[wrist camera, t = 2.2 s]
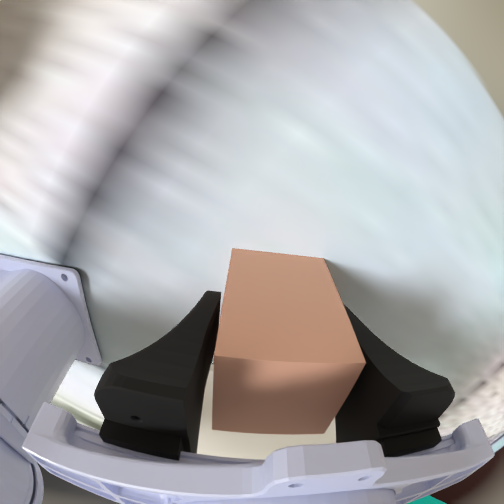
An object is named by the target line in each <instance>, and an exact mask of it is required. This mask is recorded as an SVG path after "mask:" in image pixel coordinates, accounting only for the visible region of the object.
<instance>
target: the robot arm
mask: <svg viewBox="0 0 504 504" xmlns="http://www.w3.org/2000/svg"><path fill="white" fill-rule="evenodd" d="M65 275H66V276H67V277H66V276H65ZM220 299H221V292H215V291H207V292H205V294H204V295H203V297H202V298H201V299H200V301H199V302H198V303H197V304H196V306H195V307H194V308H193V309H192V310H191V311H190V313H189V314H188V315H187V316H186V317H185V318H184V319H183V320H182V321H181V322H180V323H179V324H178V325H177V326H176V327H174V328H173V329H172V330H171V331H170V332H169V333H167V334H166V335H165V336H163V337H162V338H161V339H159V340H158V341H156V342H155V343H153V344H152V345H150V346H149V347H147V348H145V349H143V350H141V351H139V352H137V353H135V354H133V355H131V356H129V357H126V358H124V359H121V360H118V361H116V362H113V363H110V365H109V366H108V368H107V369H106V370H105V372H104V374H103V375H102V377H101V379H100V381H99V383H98V385H97V387H96V390H95V393H94V396H95V400H96V402H97V404H98V406H99V408H100V410H101V412H102V414H103V416H104V418H105V419H104V422H103V424H102V427H101V430H100V431H99V430H96V429H93V428H90V427H87V426H84V425H81V424H79V423H77V422H76V419H75V418H74V416H73V415H72V414H71V413H69V412H68V411H66V410H64V409H62V408H59V407H57V406H55V405H52V404H50V403H51V401H52V399H53V397H54V396H55V394H56V392H57V390H58V388H59V386H60V385H61V383H62V381H63V379H64V377H65V376H66V374H67V372H68V370H69V369H70V367H71V365H72V364H73V362H74V360H79V361H82V362H85V363H89V364H92V365H96V366H99V365H100V364H101V362H102V359H101V356H100V352H99V349H98V346H97V343H96V339H95V336H94V333H93V329H92V325H91V322H90V318H89V314H88V310H87V306H86V302H85V298H84V293H83V289H82V284H81V279H80V275H79V273H78V272H77V271H76V270H75V269H72V268H67V267H61V266H56V265H50V264H45V263H40V262H35V261H30V260H25V259H20V258H15V257H10V256H5V255H1V254H0V504H42V499H43V479H42V474H41V471H40V468H39V466H38V464H37V462H38V463H39V464H40V465H41V466H42V467H43V468H45V469H46V470H47V471H48V472H49V473H51V474H53V475H55V476H57V477H60V478H61V479H63V480H66V481H68V482H70V483H72V484H74V485H76V486H79V487H81V488H83V489H86V490H88V491H90V492H92V493H95V494H97V495H100V496H102V497H105V498H107V499H110V500H112V501H115V502H118V503H121V504H407V503H410V502H412V501H415V500H417V499H420V498H423V497H425V496H427V495H430V494H432V493H435V492H437V491H439V490H442V489H444V488H446V487H448V486H451V485H453V484H455V483H457V482H459V481H461V480H463V479H465V478H466V477H468V476H469V475H471V474H472V473H473V472H475V471H476V470H477V469H479V468H480V467H481V466H483V465H484V464H485V463H486V462H488V461H489V460H490V459H491V458H493V457H494V452H493V450H492V447H491V445H490V443H489V440H488V438H487V436H486V434H485V432H484V429H483V427H482V425H481V423H480V421H479V419H474V420H472V421H469V422H466V423H463V424H462V425H460V426H459V427H458V428H456V429H455V430H454V432H453V433H452V434H450V435H447V436H443V437H441V436H440V434H439V431H438V429H437V427H439V426H440V422H439V420H438V418H439V417H440V416H441V415H442V413H443V412H444V411H445V410H446V409H447V408H448V407H449V405H450V404H451V403H452V401H453V399H454V396H455V392H454V390H453V388H452V386H451V384H450V382H449V380H448V379H447V378H445V377H443V376H440V375H437V374H435V373H432V372H430V371H428V370H426V369H424V368H422V367H419V366H418V365H416V364H414V363H412V362H410V361H409V360H407V359H406V358H404V357H402V356H401V355H399V354H398V353H396V352H395V351H394V350H392V349H391V348H390V347H388V346H387V345H386V344H385V343H383V342H382V341H381V340H380V339H379V338H378V337H377V336H375V335H374V334H373V333H372V332H371V331H370V330H369V329H368V328H367V327H366V326H365V325H364V324H363V323H362V322H361V321H360V320H359V319H358V318H357V317H356V316H355V315H354V314H353V313H352V312H351V311H350V310H349V309H348V308H347V307H346V306H345V305H344V304H343V305H344V308H345V310H346V312H347V315H348V317H349V320H350V322H351V325H352V327H353V330H354V333H355V335H356V338H357V340H358V343H359V346H360V348H361V351H362V353H363V356H364V359H365V362H366V364H365V366H364V368H363V370H362V371H361V373H360V375H359V377H358V379H357V381H356V382H355V384H354V386H353V388H352V389H351V391H350V393H349V395H348V396H347V398H346V400H345V401H344V403H343V405H342V406H341V408H340V410H339V411H338V413H337V414H336V416H335V426H336V443H331V444H313V445H296V446H287V447H284V448H281V449H278V450H275V451H274V452H272V453H271V454H270V455H269V456H267V457H266V459H265V460H262V459H242V458H230V457H219V456H211V455H203V454H197V448H198V439H199V430H200V422H201V414H202V406H203V399H204V392H205V387H206V382H207V378H208V374H209V370H210V366H211V363H212V359H213V355H214V351H215V347H216V341H217V335H218V328H219V314H220ZM36 461H37V462H36Z"/></svg>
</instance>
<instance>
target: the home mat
mask: <svg viewBox="0 0 504 504" xmlns="http://www.w3.org/2000/svg"><path fill="white" fill-rule="evenodd" d="M213 371H214V364H211V366H210V370H209V374H208V378H207V382H206V387H205V392H204V399H203V406H202V414H201V422H200V430H199V439H198V448H197V454H203V455H211V456H219V457H230V458H242V459H262V460H265V459H266V457H267V456H269V455H270V454H271V453H272V452H274V451H275V450H278V449H281V448H284V447H287V446H296V445H313V444H331V443H336V426H335V418H334V419H333V421H332V422H331V424H330V425H329V427H328V428H327V430H326V431H325V433H324V434H300V435H284V434H255V433H240V432H228V431H219V430H212V401H213Z"/></svg>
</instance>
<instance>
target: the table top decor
mask: <svg viewBox="0 0 504 504" xmlns="http://www.w3.org/2000/svg"><path fill="white" fill-rule="evenodd" d="M407 504H446V503H444V502H442V501H440V500H437V499H435V498H433V497H431V496H429V495H427V496H425V497H423V498H420V499H417V500H415V501H412V502H410V503H407Z"/></svg>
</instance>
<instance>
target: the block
mask: <svg viewBox="0 0 504 504" xmlns="http://www.w3.org/2000/svg"><path fill="white" fill-rule="evenodd" d="M365 364H366V362H365V359H364V356H363V353H362V351H361V348H360V346H359V343H358V340H357V338H356V335H355V333H354V330H353V327H352V325H351V322H350V320H349V317H348V315H347V312H346V310H345V308H344V305H343V303H342V300H341V298H340V295H339V293H338V291H337V288H336V286H335V284H334V281H333V279H332V277H331V274H330V272H329V270H328V267H327V265H326V263H325V261H324V258H316V257H307V256H298V255H289V254H280V253H271V252H262V251H253V250H244V249H235V248H232V253H231V259H230V264H229V270H228V276H227V282H226V287H225V293H224V299H223V305H222V311H221V317H220V323H219V329H218V335H217V341H216V347H215V353H214V371H213V401H212V430H219V431H228V432H240V433H255V434H284V435H300V434H324V433H325V431H326V430H327V428H328V427H329V425H330V424H331V422H332V421H333V419H334V418H335V416H336V414H337V413H338V411H339V410H340V408H341V406H342V405H343V403H344V401H345V400H346V398H347V396H348V395H349V393H350V391H351V389H352V388H353V386H354V384H355V382H356V381H357V379H358V377H359V375H360V373H361V371H362V370H363V368H364V366H365Z"/></svg>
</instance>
